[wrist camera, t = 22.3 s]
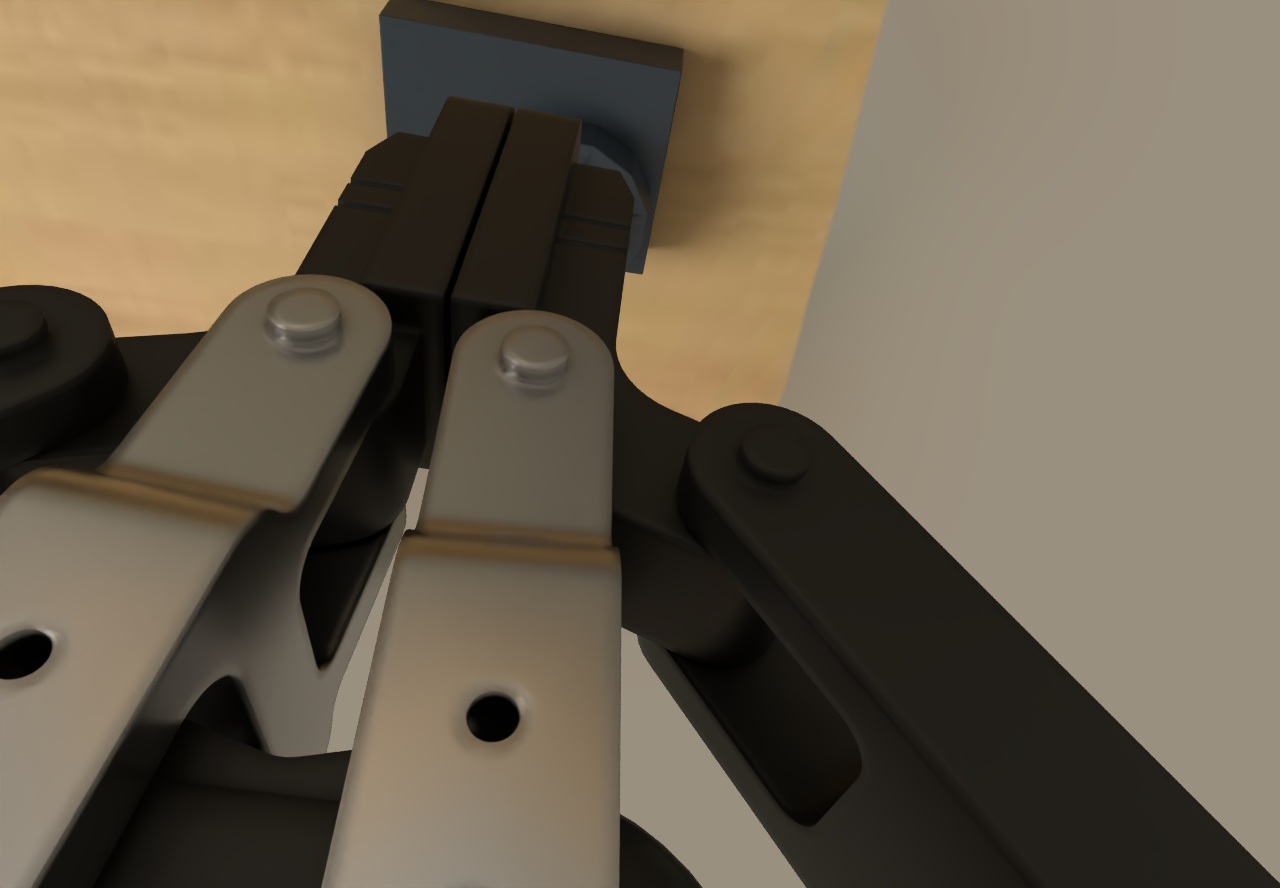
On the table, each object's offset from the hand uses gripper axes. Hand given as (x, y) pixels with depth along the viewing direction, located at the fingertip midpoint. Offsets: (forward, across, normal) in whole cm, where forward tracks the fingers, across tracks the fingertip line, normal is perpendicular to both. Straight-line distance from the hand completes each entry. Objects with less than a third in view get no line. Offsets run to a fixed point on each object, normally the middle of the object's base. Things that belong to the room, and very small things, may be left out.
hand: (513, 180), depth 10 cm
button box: (+27, +3, +14) cm, 31 cm away
